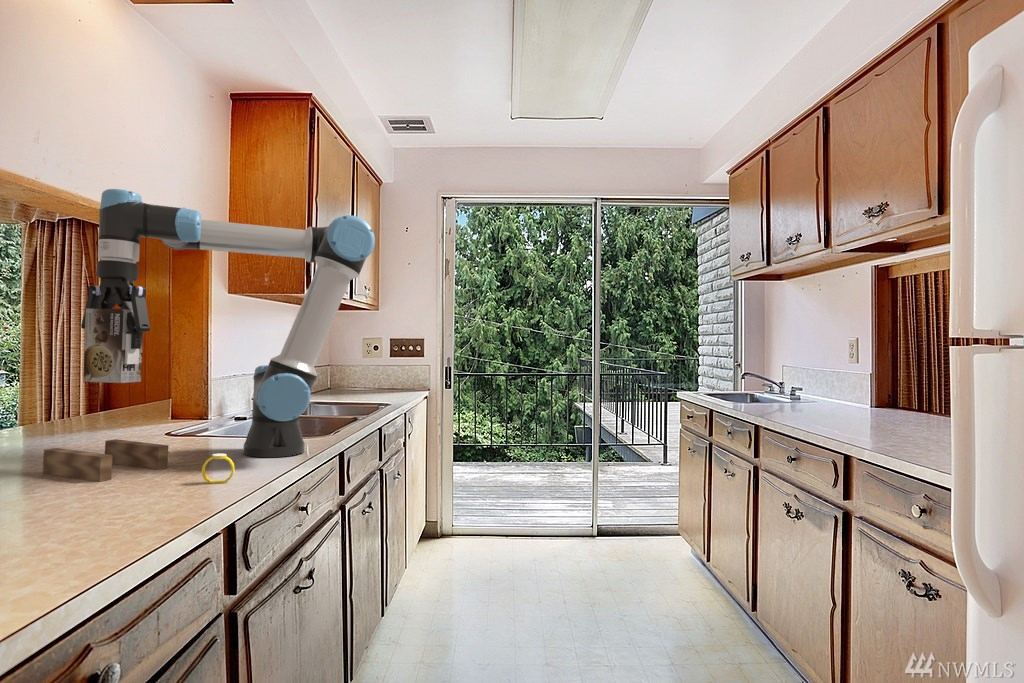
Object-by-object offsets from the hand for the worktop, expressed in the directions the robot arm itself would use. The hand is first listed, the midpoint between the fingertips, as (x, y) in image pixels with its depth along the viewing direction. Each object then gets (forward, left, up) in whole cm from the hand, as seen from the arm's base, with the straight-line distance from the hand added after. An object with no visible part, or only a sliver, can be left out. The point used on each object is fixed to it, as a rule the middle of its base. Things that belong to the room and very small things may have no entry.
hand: (113, 362), depth 128 cm
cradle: (0, 0, -24) cm, 24 cm away
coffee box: (0, 0, -4) cm, 4 cm away
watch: (-28, -2, -24) cm, 37 cm away
